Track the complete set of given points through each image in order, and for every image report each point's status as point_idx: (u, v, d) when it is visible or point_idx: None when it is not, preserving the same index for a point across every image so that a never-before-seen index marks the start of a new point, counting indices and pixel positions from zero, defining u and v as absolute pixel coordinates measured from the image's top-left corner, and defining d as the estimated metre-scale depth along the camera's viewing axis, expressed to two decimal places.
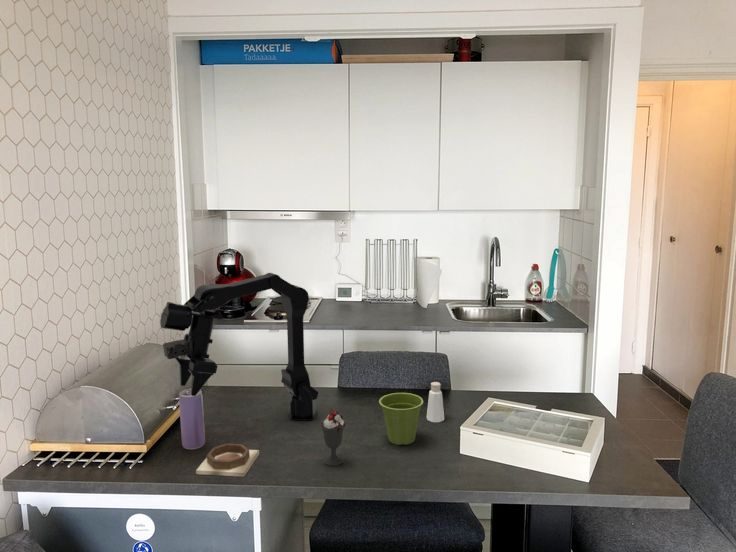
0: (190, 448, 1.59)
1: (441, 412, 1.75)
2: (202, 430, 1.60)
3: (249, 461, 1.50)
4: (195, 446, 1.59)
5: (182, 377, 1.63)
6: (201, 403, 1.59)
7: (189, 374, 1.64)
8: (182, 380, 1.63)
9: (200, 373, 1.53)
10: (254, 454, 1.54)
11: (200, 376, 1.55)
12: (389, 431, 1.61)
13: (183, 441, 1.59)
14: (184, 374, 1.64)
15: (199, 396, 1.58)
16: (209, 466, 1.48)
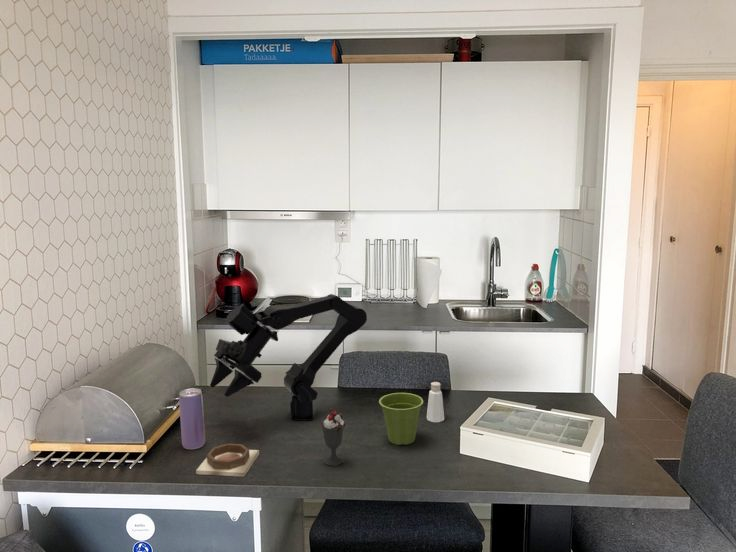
0: (190, 448, 1.59)
1: (441, 412, 1.75)
2: (202, 430, 1.60)
3: (249, 461, 1.50)
4: (195, 446, 1.59)
5: (215, 378, 1.68)
6: (201, 403, 1.59)
7: (221, 379, 1.69)
8: (214, 381, 1.68)
9: (245, 377, 1.60)
10: (254, 454, 1.54)
11: (241, 380, 1.62)
12: (389, 431, 1.61)
13: (183, 441, 1.59)
14: (218, 377, 1.69)
15: (199, 396, 1.58)
16: (209, 466, 1.48)
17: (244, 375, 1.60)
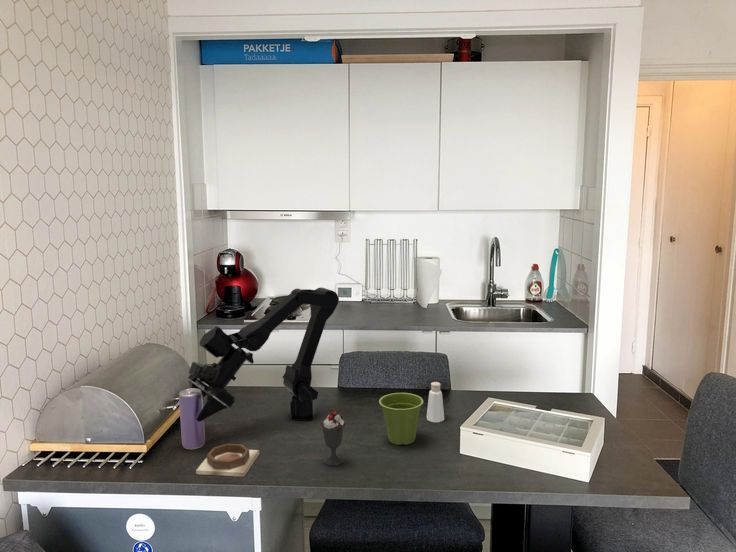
0: (190, 448, 1.59)
1: (441, 412, 1.75)
2: (202, 430, 1.60)
3: (249, 461, 1.50)
4: (195, 446, 1.59)
5: None
6: (201, 403, 1.59)
7: None
8: None
9: (217, 401, 1.56)
10: (254, 454, 1.54)
11: (213, 405, 1.58)
12: (389, 431, 1.61)
13: (183, 441, 1.59)
14: None
15: (199, 396, 1.58)
16: (209, 466, 1.48)
17: (217, 400, 1.56)
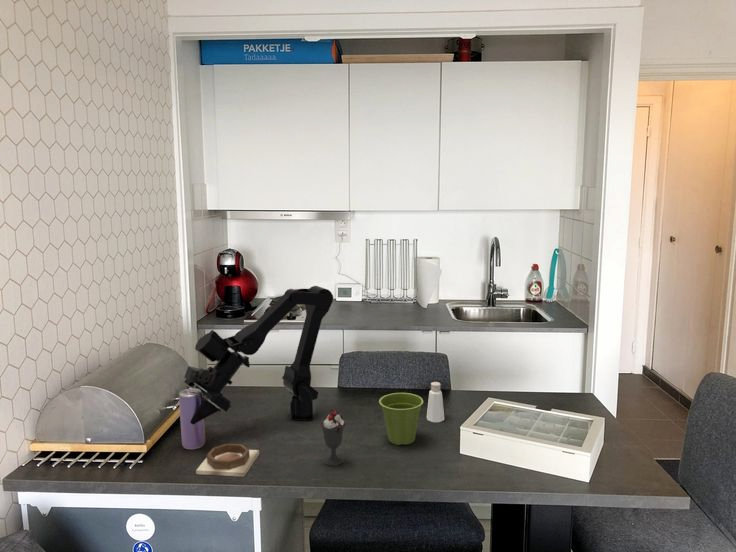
0: (190, 448, 1.59)
1: (441, 412, 1.75)
2: (202, 430, 1.60)
3: (249, 461, 1.50)
4: (195, 446, 1.59)
5: None
6: None
7: None
8: None
9: (211, 404, 1.56)
10: (254, 454, 1.54)
11: (207, 408, 1.58)
12: (389, 431, 1.61)
13: (183, 441, 1.59)
14: None
15: (199, 396, 1.58)
16: (209, 466, 1.48)
17: (210, 402, 1.56)
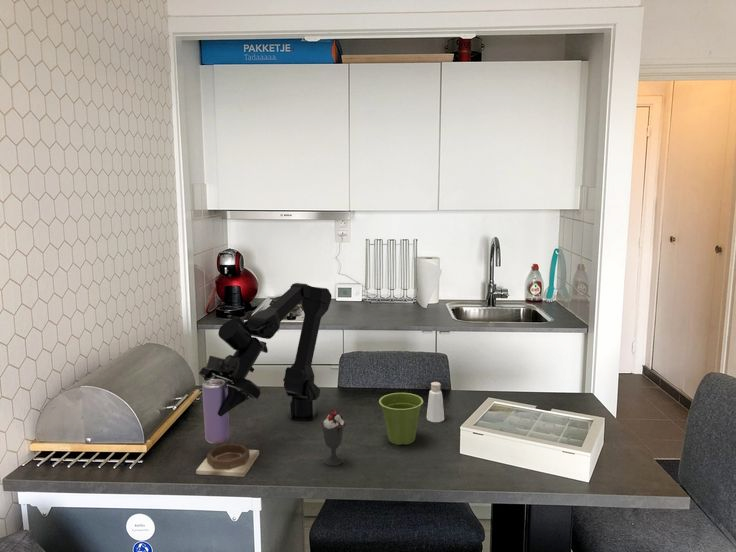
0: (217, 442, 1.50)
1: (441, 412, 1.75)
2: (228, 422, 1.51)
3: (249, 461, 1.50)
4: (222, 440, 1.50)
5: None
6: (226, 394, 1.50)
7: None
8: None
9: (240, 393, 1.48)
10: (254, 454, 1.54)
11: (234, 397, 1.50)
12: (389, 431, 1.61)
13: (208, 435, 1.50)
14: None
15: (225, 386, 1.49)
16: (209, 466, 1.48)
17: (240, 391, 1.48)
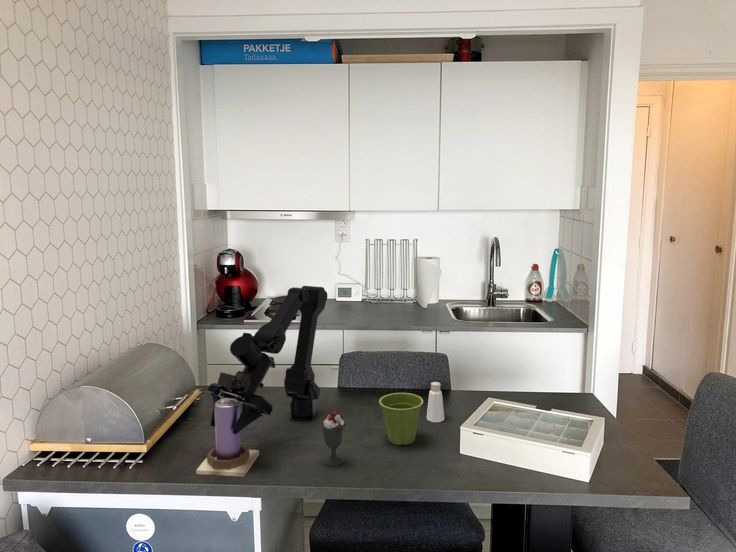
0: None
1: (441, 412, 1.75)
2: (239, 442, 1.51)
3: (249, 461, 1.50)
4: None
5: None
6: None
7: None
8: (214, 420, 1.51)
9: (255, 410, 1.47)
10: (254, 454, 1.54)
11: (248, 415, 1.48)
12: (389, 431, 1.61)
13: (220, 456, 1.48)
14: None
15: (238, 406, 1.49)
16: (209, 466, 1.48)
17: (254, 408, 1.47)
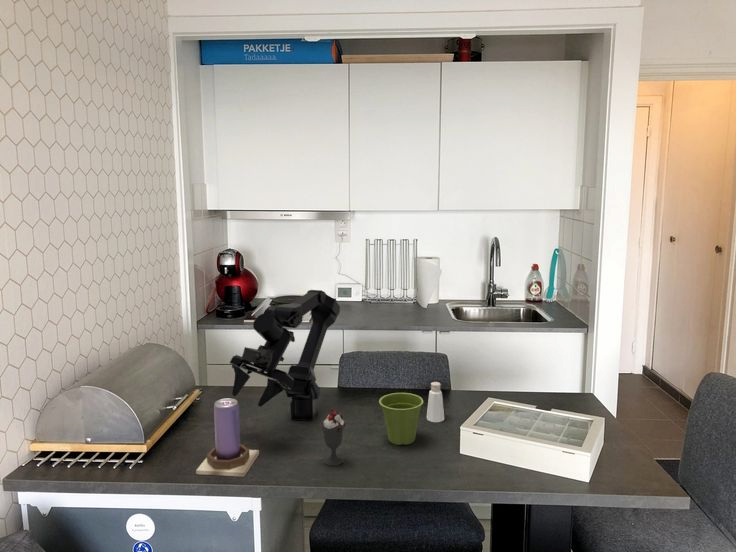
0: None
1: (441, 412, 1.75)
2: (239, 442, 1.51)
3: (249, 461, 1.50)
4: None
5: (236, 387, 1.60)
6: (238, 413, 1.50)
7: (241, 386, 1.62)
8: (235, 390, 1.60)
9: (280, 385, 1.55)
10: (254, 454, 1.54)
11: (273, 388, 1.56)
12: (389, 431, 1.61)
13: (220, 456, 1.49)
14: (238, 385, 1.61)
15: (237, 406, 1.49)
16: (209, 466, 1.48)
17: (279, 383, 1.55)
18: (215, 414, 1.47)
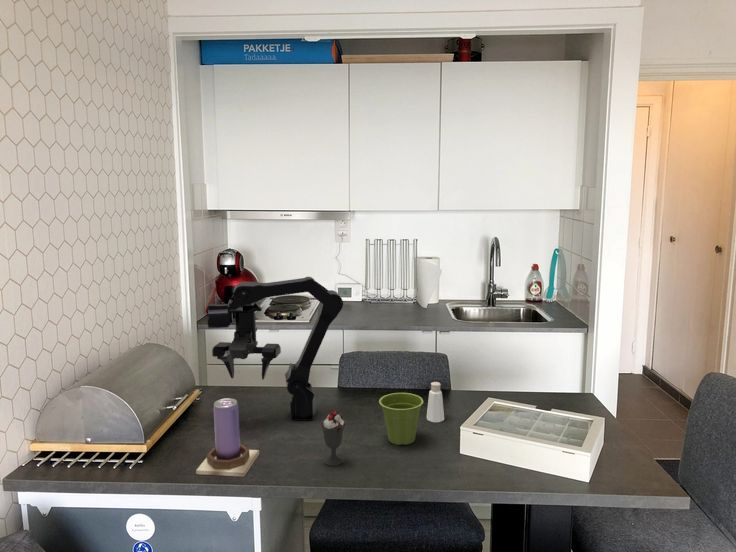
0: None
1: (441, 412, 1.75)
2: (239, 442, 1.51)
3: (249, 461, 1.50)
4: None
5: (231, 371, 1.75)
6: (238, 413, 1.50)
7: (233, 366, 1.76)
8: (232, 373, 1.75)
9: (273, 357, 1.72)
10: (254, 454, 1.54)
11: None
12: (389, 431, 1.61)
13: (220, 456, 1.49)
14: (231, 368, 1.75)
15: (237, 406, 1.49)
16: (209, 466, 1.48)
17: (272, 357, 1.72)
18: (215, 414, 1.47)
